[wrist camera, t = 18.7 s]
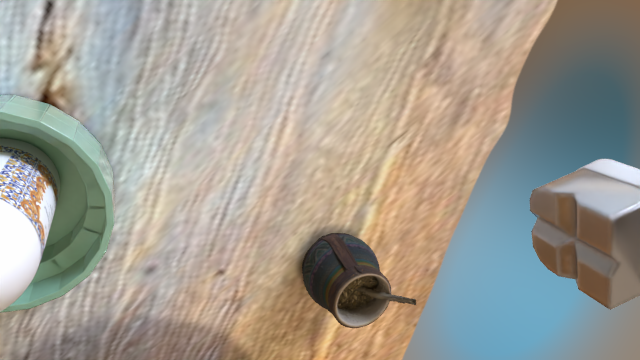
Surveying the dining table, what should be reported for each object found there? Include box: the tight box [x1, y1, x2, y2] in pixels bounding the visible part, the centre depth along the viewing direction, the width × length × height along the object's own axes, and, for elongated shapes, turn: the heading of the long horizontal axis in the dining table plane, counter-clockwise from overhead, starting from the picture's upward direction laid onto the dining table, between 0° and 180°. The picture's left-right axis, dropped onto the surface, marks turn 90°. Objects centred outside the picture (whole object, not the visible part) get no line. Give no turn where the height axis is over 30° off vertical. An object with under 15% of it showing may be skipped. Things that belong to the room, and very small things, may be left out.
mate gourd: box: [302, 233, 416, 328], centre depth 46 cm, size 7×8×10 cm
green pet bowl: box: [0, 95, 115, 313], centre depth 36 cm, size 14×14×6 cm
